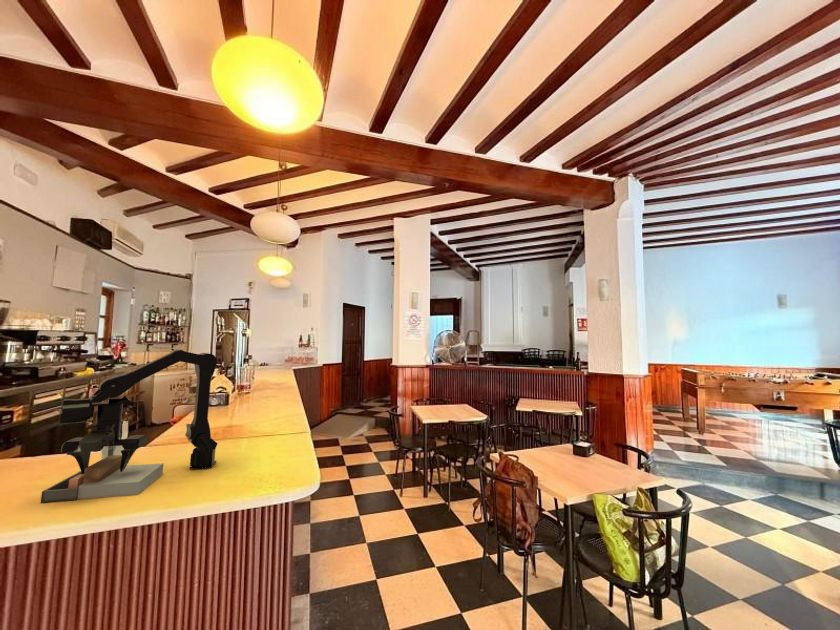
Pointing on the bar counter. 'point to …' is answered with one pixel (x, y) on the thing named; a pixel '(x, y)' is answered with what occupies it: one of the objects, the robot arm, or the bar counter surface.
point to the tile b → (76, 481)
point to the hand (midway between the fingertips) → (103, 472)
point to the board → (122, 482)
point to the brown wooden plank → (102, 469)
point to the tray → (60, 492)
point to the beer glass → (113, 449)
